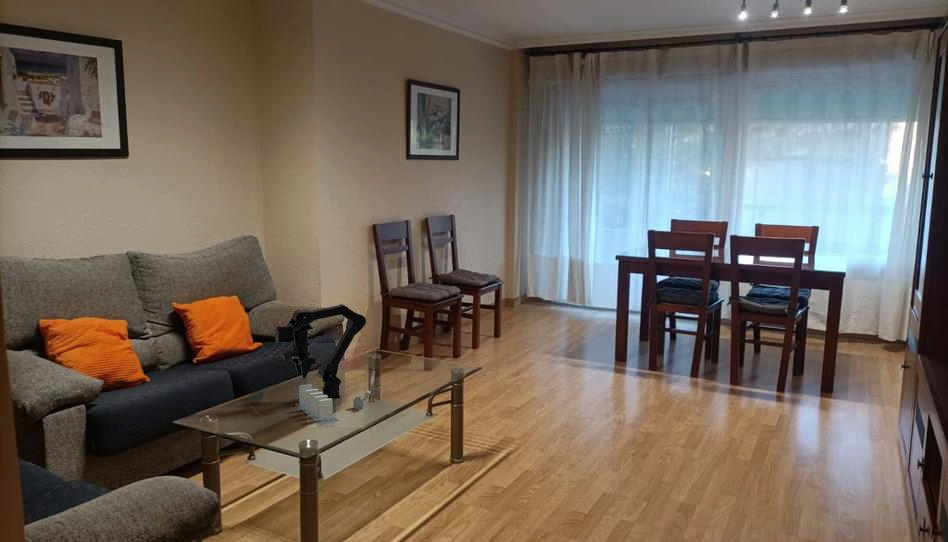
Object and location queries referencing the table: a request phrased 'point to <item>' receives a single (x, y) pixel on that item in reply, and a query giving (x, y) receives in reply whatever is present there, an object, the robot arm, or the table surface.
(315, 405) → the tile
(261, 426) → the table surface
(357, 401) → the lighter
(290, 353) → the robot arm
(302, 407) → the runner
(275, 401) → the table surface
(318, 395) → the tile
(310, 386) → the tile
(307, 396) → the tile
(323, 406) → the tile
